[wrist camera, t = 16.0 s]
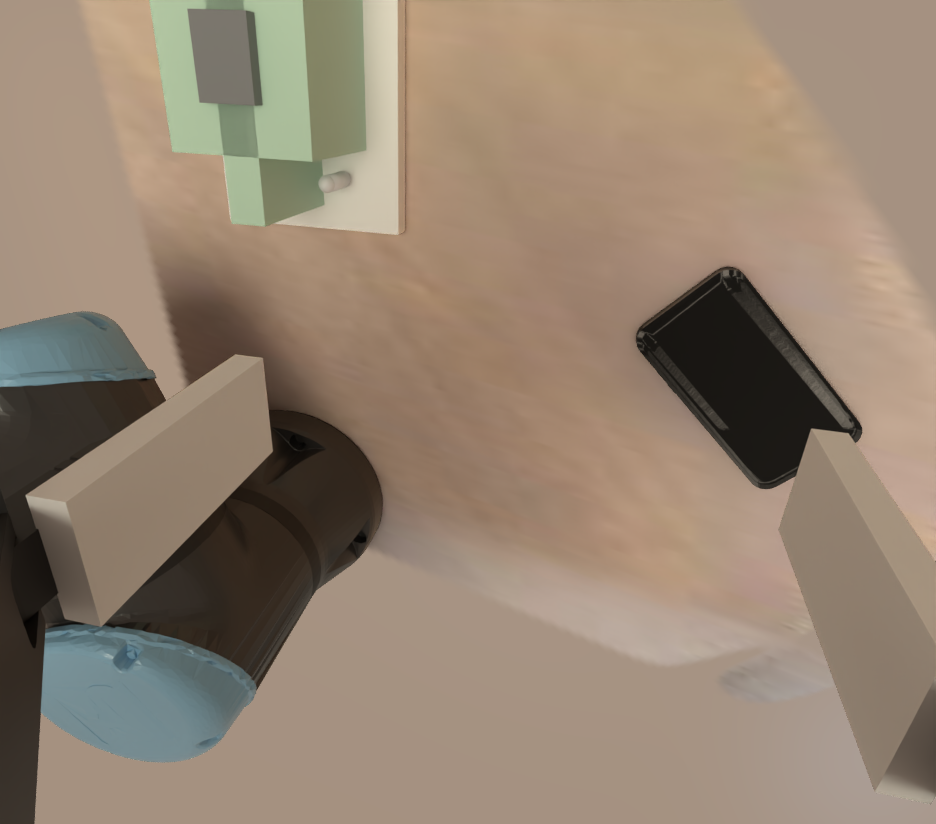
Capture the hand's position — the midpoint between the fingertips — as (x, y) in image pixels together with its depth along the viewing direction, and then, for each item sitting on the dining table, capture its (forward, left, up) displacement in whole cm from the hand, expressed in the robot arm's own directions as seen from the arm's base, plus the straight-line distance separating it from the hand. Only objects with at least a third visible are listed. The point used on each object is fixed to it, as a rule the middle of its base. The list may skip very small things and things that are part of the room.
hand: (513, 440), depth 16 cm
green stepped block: (-11, +16, -27) cm, 33 cm away
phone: (+6, -14, -29) cm, 33 cm away
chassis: (-11, +16, -29) cm, 35 cm away
